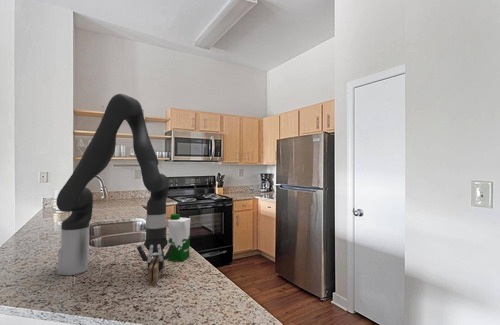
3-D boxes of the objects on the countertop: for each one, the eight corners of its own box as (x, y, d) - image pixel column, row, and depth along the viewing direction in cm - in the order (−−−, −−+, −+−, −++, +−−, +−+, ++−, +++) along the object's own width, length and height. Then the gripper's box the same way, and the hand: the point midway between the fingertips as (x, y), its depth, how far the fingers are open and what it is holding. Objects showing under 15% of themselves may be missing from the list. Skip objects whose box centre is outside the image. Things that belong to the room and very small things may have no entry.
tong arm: (154, 268, 105) (155, 254, 105) (161, 267, 105) (161, 253, 106) (147, 285, 89) (148, 269, 90) (155, 284, 90) (156, 268, 90)
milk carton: (174, 254, 123) (175, 212, 123) (192, 256, 121) (192, 213, 121) (164, 261, 114) (165, 215, 115) (183, 262, 112) (184, 216, 113)
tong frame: (153, 265, 108) (154, 249, 109) (163, 265, 109) (164, 248, 109) (146, 286, 89) (146, 266, 89) (158, 285, 90) (159, 265, 90)
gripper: (134, 228, 93) (133, 276, 93) (174, 226, 96) (174, 273, 96) (138, 224, 100) (137, 268, 100) (175, 222, 104) (175, 265, 103)
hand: (155, 270), depth 98 cm, fingers open, 3 cm apart
